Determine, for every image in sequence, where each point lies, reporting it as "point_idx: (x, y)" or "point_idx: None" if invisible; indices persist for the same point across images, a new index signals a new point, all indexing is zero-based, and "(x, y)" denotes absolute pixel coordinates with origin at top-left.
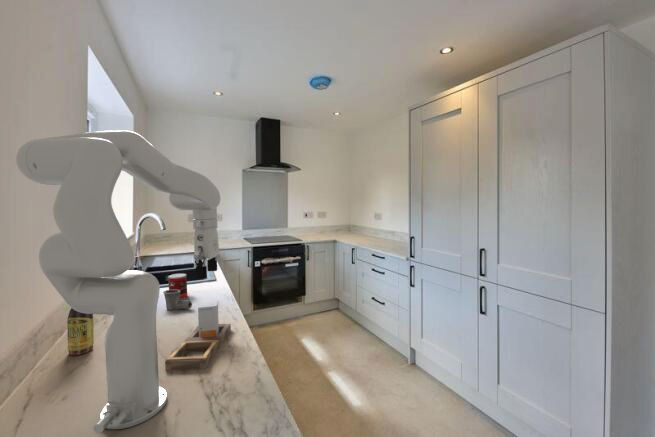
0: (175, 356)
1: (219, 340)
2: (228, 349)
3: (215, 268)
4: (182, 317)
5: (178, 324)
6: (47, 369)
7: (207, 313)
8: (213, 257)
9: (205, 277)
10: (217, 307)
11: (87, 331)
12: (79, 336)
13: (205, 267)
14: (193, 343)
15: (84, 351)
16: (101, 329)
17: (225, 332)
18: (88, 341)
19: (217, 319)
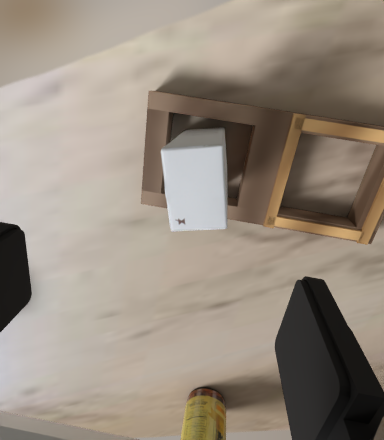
0: (348, 225)
1: (281, 111)
2: (304, 74)
3: (6, 246)
4: (43, 264)
5: (92, 264)
6: (264, 417)
7: (226, 181)
8: (102, 432)
9: (321, 288)
10: (200, 143)
11: (214, 435)
12: (223, 437)
13: (372, 385)
14: (282, 194)
15: (220, 396)
16: (108, 399)
17: (213, 100)
18: (213, 410)
19: (210, 135)
